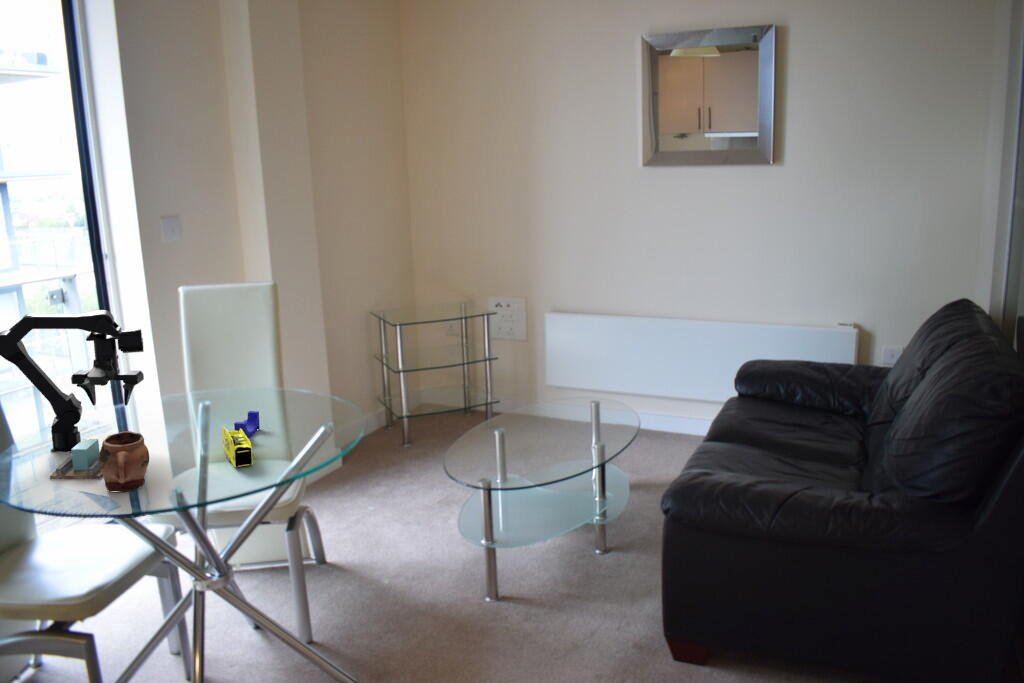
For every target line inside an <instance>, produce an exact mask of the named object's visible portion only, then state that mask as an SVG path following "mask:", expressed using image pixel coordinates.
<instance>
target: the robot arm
mask: <svg viewBox="0 0 1024 683" xmlns="http://www.w3.org/2000/svg"><path fill="white" fill-rule="evenodd" d="M32 330H81V331H85V332H89V334H88V335H87V336H86V337H85V340H86V342H93V349H94V359H93V366H92V367H91V369H86V370H83V369H79V370H78V371H76V372H74V373H72V374H71V378H70V381H71V385H76V387H79V388H81V389H82V390H83V391H84V392H85V394H86V395H87V397H88V398H89V399H88V400H89V401H90V403H91V404H92V406H96V402H97V396H96V386H101V387H102V386H103V387H104V386H106V385H108V383H109V382H110V381H122V382H123V383H124V384H123V385H122V388H123V394H124V395H123V401H124V406H128V405H129V401H130V399H131V396H132V392H133V390H134V388H135V387H136V385H138V384H141V382H142V381H144V379H145V377H144V375H145V374H144V372H143V371H142V370H127V372H125V373H120V371H121V370H120V368H119V367H118V360H119V355H118V354H117V349H118V351H120V352H122V353H123V354H131V353H144V351H145V350H144V338H143V335H142V328H135V329H128V330H127V329H122V327H121V326H120V325H119V324H118V323H117V322H116V321H115V317H114V315H113V314H112V313H111V311H109V310H106V309H99V310H93V311H92V310H91V311H88V312H84V313H79V314H73V313H70V314H69V313H63V314H62V313H59V314H57V313H55V314H53V313H48V314H47V313H31V312H29V313H26V314H25V315H24V316H22V318H21V319H20V320H19V321H17V322H16V323H15V324H14V325H12V326H11V327H10V329H6V330H2V331H0V357H1V358H3V359H5V360H6V361H8V362H10V363H11V364H14V365H15V366H16V367H17V368H18V370H20V372H22V374H23V375H24V376H25V377H26V378H27V379H28V380H29V381H30V383H32V385H33V386H34V387H35V388H36V389H37V390H38V391H39V392H40V393H41V395H42V396H44V398H45V399H46V400H47V401H48V402H49V404H50V406H51V409H52V410H53V413H54V414H55V417H54V419H53V422H52V424H51V427H50V428H51V441H52V448H51V449H50V452H52V453H53V452H54V453H55V452H56V453H57V452H60V453H62V452H64V453H65V452H67V453H68V452H69V453H71V449H72V448H73V447H75V446H76V445H77V444H78V443H79V442H81V441H82V438H81V432H80V431H79V427H78V426H77V424H78V423H79V422H80V421H81V418H82V414H83V407H82V401H81V400H79V399H78V398H77V397H76V396H75V394H74V392H70V394H66V393H65V392H63V391H62V390H61V389H60V388H59V387H58V386H57V384H55V382H54V381H53V380H52V379H51V378H50V377H49V376H48V375H47V373H45V371H44V370H43V369H42V368H41V367H40V366H39V365H38V364H37V362H36V361H35V360H34V359H33V358H32V356H30V355H29V353H28V351H27V348H26V346H25V344H24V342H23V341H22V339H24V338H25V336H27V335H28V334H29V333H30V332H31V331H32ZM116 340H117V344H116ZM116 346H117V347H118V348H117V347H116Z"/></svg>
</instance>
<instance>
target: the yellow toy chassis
mask: <svg viewBox="0 0 1024 683" xmlns="http://www.w3.org/2000/svg"><path fill="white" fill-rule="evenodd" d="M222 444H223V447H222V448H223V450H224V452H225V458H227V461H228V462H230V463H231V464H232V465H233V467H234V468H236V467H237V468H243V467H250V465H252V466H254V462H253V461H254V453H253V447H252V446H253V445H252V443H251V441H250V438H249V439H248V438H247V436H246V435H245V433H244V432H243V431H242V429H240V430H239V431H237V430H235V429H234V430H229V429H228V428H226V427H225V426H223V427H222Z"/></svg>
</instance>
